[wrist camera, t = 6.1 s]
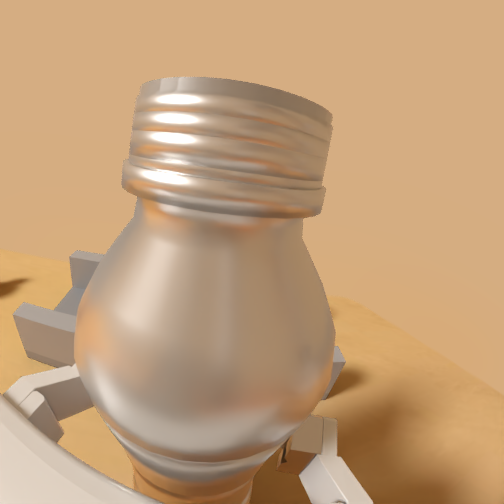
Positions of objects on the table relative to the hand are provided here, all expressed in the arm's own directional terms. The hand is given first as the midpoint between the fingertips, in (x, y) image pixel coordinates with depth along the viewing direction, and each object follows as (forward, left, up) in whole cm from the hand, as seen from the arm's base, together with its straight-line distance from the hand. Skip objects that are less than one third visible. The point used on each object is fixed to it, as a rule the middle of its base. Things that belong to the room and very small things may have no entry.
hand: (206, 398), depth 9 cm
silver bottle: (+1, +1, -11) cm, 11 cm away
